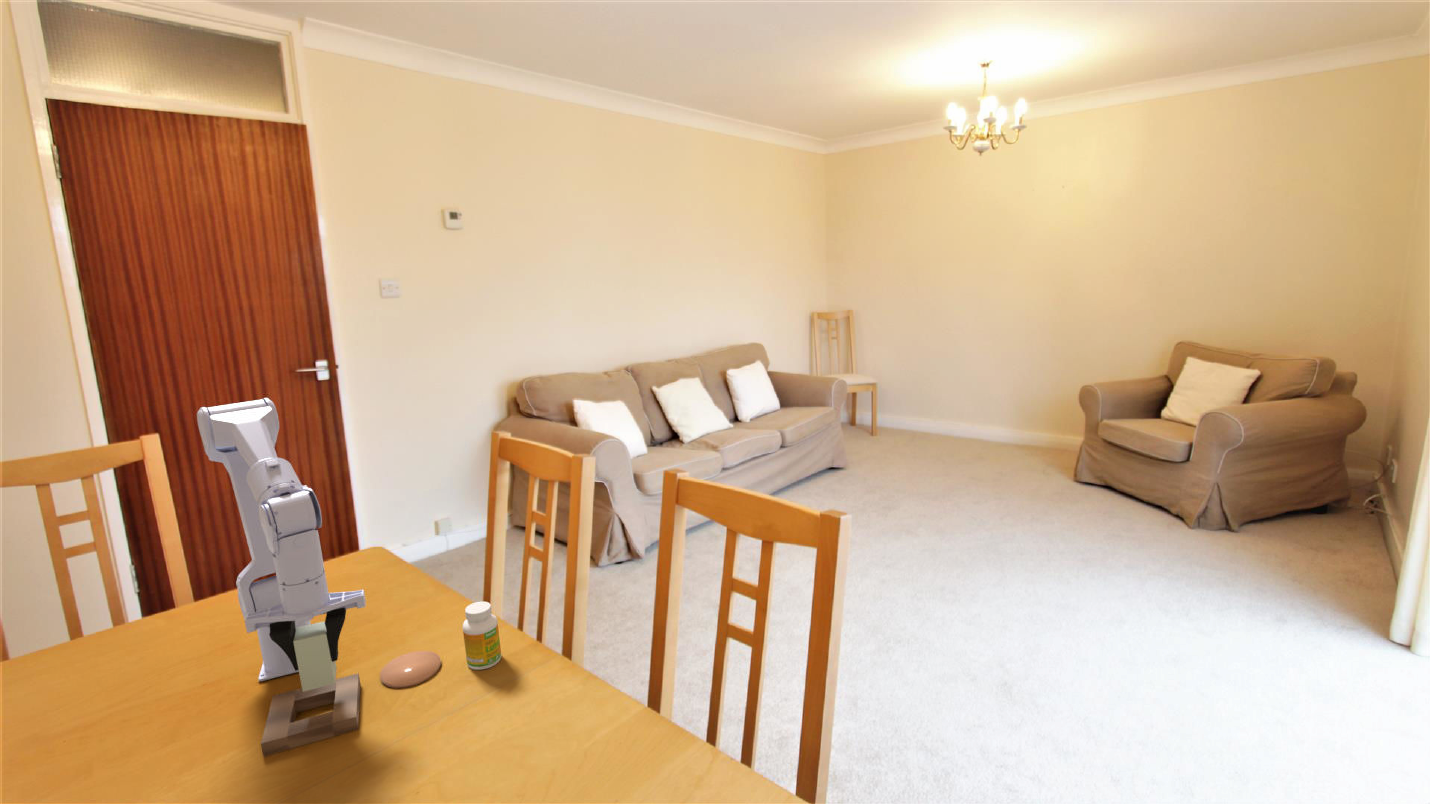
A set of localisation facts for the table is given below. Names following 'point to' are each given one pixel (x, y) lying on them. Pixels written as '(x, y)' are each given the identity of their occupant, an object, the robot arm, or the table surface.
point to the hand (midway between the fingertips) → (316, 662)
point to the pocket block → (292, 733)
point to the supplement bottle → (481, 636)
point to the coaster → (410, 669)
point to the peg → (314, 656)
